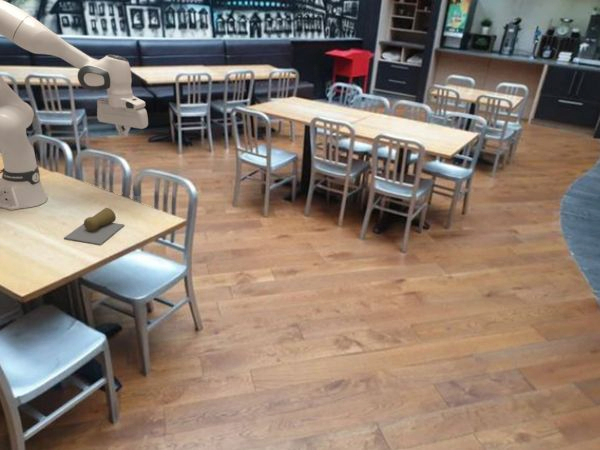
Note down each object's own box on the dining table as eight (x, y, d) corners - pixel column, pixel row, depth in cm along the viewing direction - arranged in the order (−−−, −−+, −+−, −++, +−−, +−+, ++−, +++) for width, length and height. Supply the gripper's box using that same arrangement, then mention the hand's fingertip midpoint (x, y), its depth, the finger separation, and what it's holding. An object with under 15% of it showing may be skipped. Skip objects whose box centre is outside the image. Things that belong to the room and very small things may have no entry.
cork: (117, 223, 175) (96, 234, 165) (104, 221, 177) (83, 232, 167) (113, 208, 172) (92, 218, 163) (101, 207, 175) (79, 217, 165)
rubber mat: (64, 239, 162) (63, 237, 161) (90, 220, 176) (90, 218, 176) (100, 245, 160) (100, 244, 160) (124, 225, 174) (124, 224, 174)
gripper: (91, 98, 172) (95, 134, 178) (139, 105, 168) (142, 142, 174) (102, 95, 178) (105, 130, 184) (149, 102, 174) (151, 138, 180)
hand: (123, 136), depth 179 cm, fingers closed
